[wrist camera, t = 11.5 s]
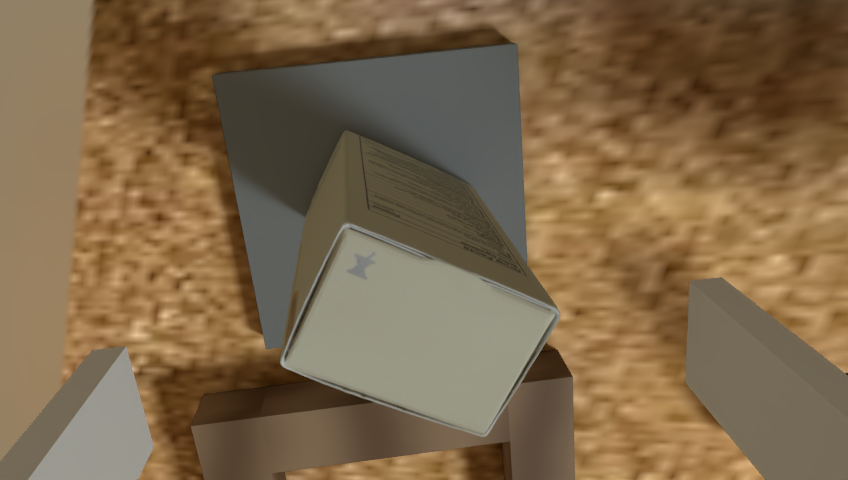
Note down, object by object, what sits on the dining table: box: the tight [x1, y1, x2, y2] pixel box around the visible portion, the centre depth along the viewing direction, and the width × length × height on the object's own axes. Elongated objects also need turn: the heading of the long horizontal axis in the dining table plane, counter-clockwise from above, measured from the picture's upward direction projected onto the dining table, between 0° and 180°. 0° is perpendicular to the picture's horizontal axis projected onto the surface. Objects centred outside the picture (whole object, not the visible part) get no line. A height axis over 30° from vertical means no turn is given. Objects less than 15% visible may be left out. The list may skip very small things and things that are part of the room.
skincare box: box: [280, 130, 560, 437], centre depth 22 cm, size 6×4×12 cm
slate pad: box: [212, 43, 527, 349], centre depth 29 cm, size 12×12×1 cm
